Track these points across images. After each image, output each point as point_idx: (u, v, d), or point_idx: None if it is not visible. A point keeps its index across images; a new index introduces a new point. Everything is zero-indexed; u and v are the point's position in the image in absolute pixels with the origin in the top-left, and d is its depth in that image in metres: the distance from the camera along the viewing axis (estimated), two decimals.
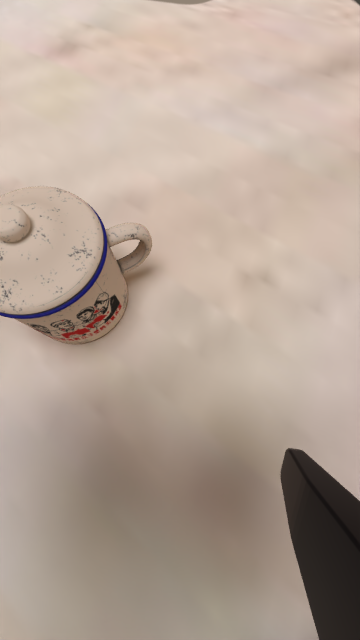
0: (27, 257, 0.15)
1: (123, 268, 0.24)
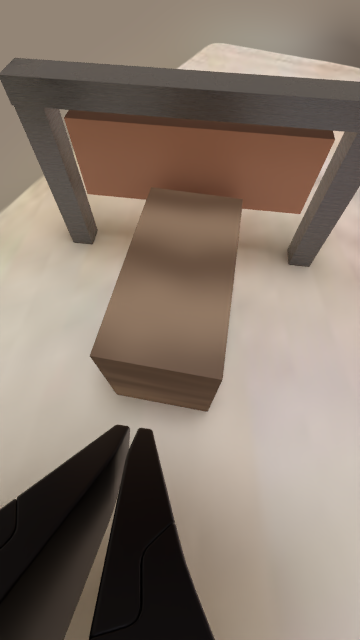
0: None
1: None
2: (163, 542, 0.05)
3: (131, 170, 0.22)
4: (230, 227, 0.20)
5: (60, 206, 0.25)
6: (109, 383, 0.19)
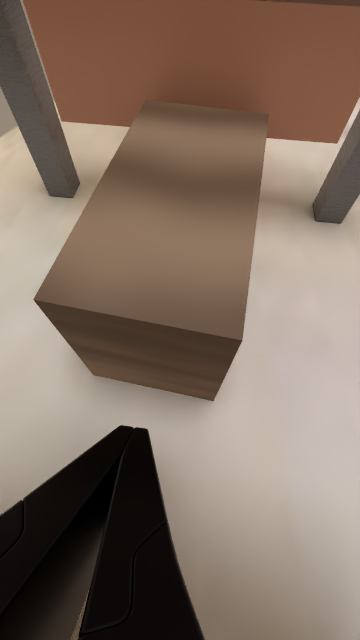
0: None
1: None
2: (155, 541, 0.05)
3: (115, 78, 0.16)
4: (252, 144, 0.14)
5: (28, 141, 0.20)
6: (78, 355, 0.14)
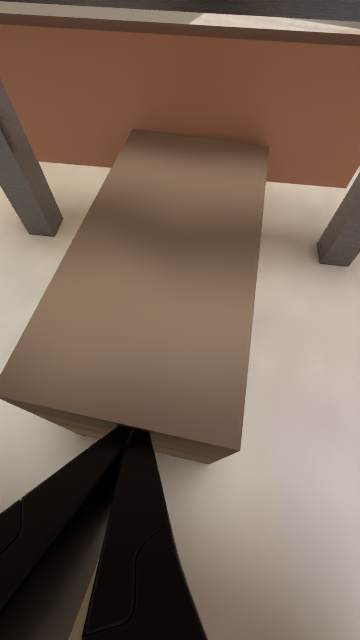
0: None
1: None
2: (157, 541, 0.05)
3: (94, 119, 0.14)
4: (250, 183, 0.13)
5: (1, 181, 0.18)
6: None
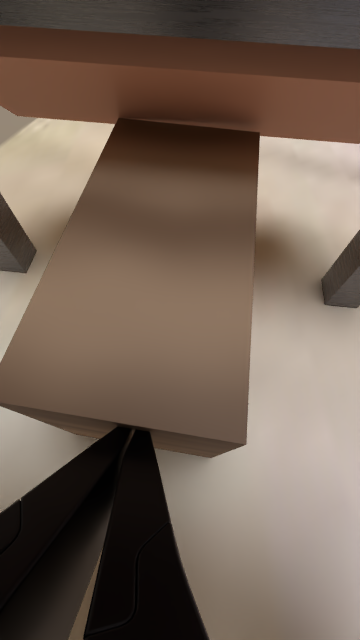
0: None
1: None
2: (159, 541, 0.05)
3: (71, 101, 0.13)
4: (242, 171, 0.12)
5: None
6: None
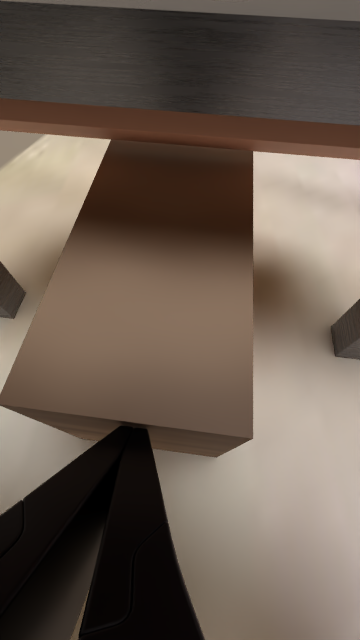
0: None
1: None
2: (155, 541, 0.05)
3: (57, 131, 0.11)
4: (238, 177, 0.13)
5: None
6: None
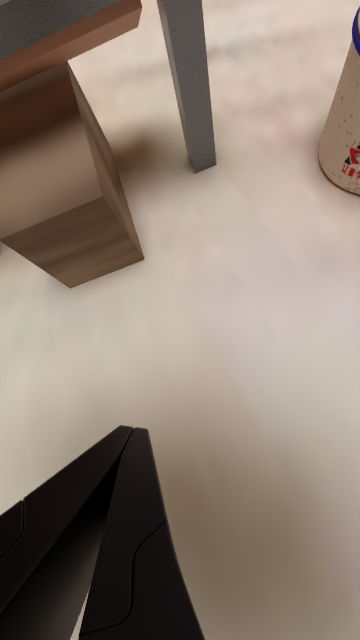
0: None
1: None
2: (155, 541, 0.05)
3: None
4: (62, 83, 0.20)
5: None
6: None
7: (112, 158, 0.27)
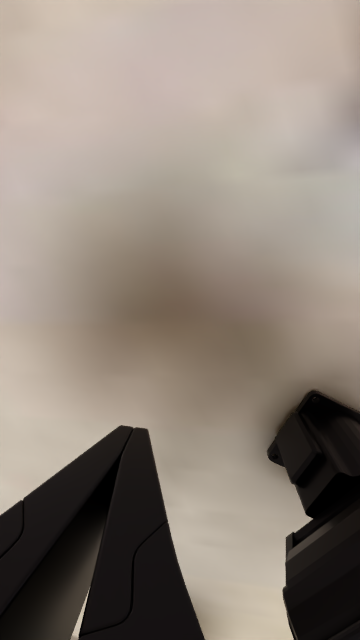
0: None
1: None
2: (155, 541, 0.05)
3: None
4: None
5: None
6: None
7: None
